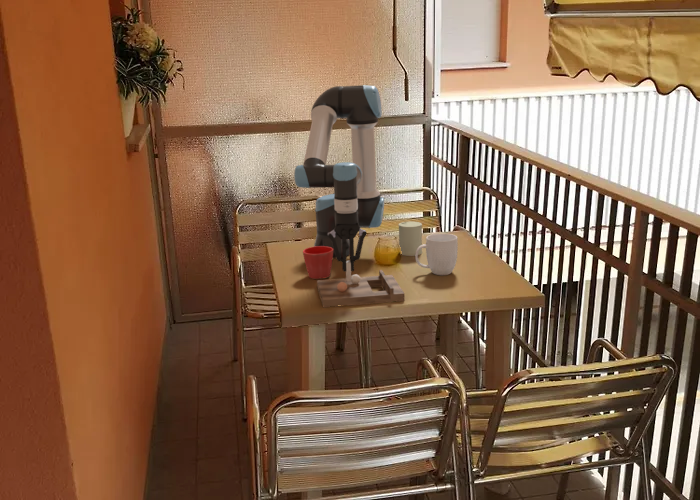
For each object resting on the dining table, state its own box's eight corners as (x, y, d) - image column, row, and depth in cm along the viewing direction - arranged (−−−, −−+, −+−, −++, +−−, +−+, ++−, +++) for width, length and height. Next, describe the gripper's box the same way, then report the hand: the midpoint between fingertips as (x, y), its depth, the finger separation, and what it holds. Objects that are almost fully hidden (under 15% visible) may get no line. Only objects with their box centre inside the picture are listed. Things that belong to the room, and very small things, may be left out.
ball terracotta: (336, 290, 235) (336, 281, 234) (346, 289, 235) (346, 280, 234) (338, 293, 232) (337, 284, 231) (348, 292, 232) (347, 283, 231)
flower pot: (299, 274, 262) (298, 248, 259) (328, 269, 266) (326, 244, 263) (310, 282, 252) (308, 255, 250) (339, 277, 256) (338, 251, 254)
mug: (417, 278, 252) (417, 242, 248) (413, 269, 262) (413, 234, 259) (460, 276, 252) (460, 240, 249) (454, 267, 263) (454, 232, 259)
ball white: (357, 271, 241) (361, 280, 242) (348, 275, 241) (352, 283, 242) (358, 274, 238) (362, 283, 239) (349, 277, 238) (353, 286, 239)
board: (317, 287, 246) (316, 274, 245) (392, 281, 249) (392, 269, 248) (323, 307, 227) (322, 293, 226) (404, 300, 230) (404, 287, 229)
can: (406, 248, 290) (406, 219, 287) (426, 251, 285) (426, 221, 281) (394, 253, 283) (393, 224, 279) (414, 257, 277) (414, 226, 274)
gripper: (327, 214, 230) (330, 285, 236) (368, 212, 231) (369, 282, 237) (325, 209, 237) (328, 278, 243) (364, 207, 238) (366, 275, 244)
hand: (348, 280), depth 240 cm, fingers closed
